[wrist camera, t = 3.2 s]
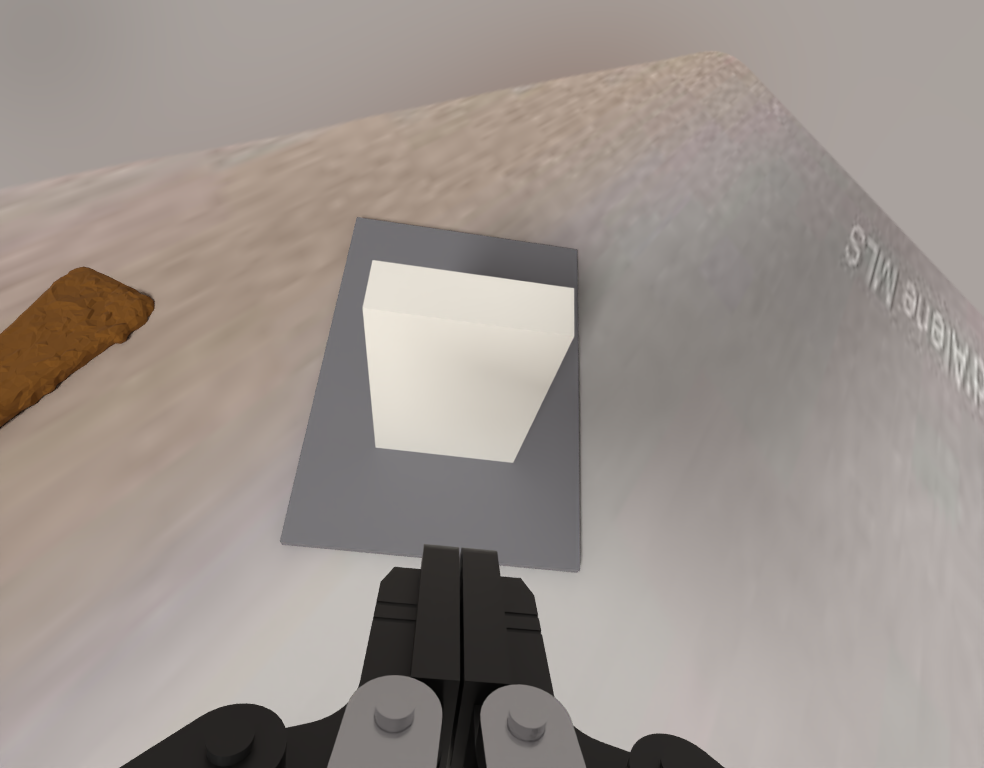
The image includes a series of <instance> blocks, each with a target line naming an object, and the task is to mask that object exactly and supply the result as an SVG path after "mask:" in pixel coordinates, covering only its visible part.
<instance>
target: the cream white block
mask: <svg viewBox="0 0 984 768" xmlns="http://www.w3.org/2000/svg"><path fill="white" fill-rule="evenodd" d="M363 319H364V329H365V340H366V351H367V361H368V372H369V383H370V393H371V404H372V415H373V425H374V436H375V447H376V448H384V449H393V450H402V451H411V452H420V453H429V454H438V455H447V456H456V457H465V458H474V459H483V460H492V461H501V462H510V463H513V462H514V460H515V458H516V456H517V454H518V452H519V450H520V448H521V445H522V443H523V441H524V439H525V437H526V435H527V433H528V431H529V429H530V427H531V425H532V423H533V421H534V419H535V416H536V414H537V412H538V410H539V408H540V406H541V404H542V402H543V400H544V398H545V396H546V394H547V392H548V390H549V387H550V385H551V383H552V381H553V379H554V377H555V375H556V373H557V371H558V369H559V367H560V365H561V363H562V361H563V358H564V356H565V354H566V352H567V350H568V348H569V346H570V344H571V342H572V340H573V338H574V288H568V287H561V286H554V285H547V284H540V283H533V282H526V281H518V280H511V279H504V278H497V277H490V276H483V275H476V274H469V273H461V272H454V271H447V270H440V269H433V268H426V267H419V266H412V265H404V264H397V263H390V262H383V261H376V260H372V265H371V270H370V275H369V279H368V284H367V289H366V294H365V298H364V303H363Z"/></svg>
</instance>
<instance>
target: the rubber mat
mask: <svg viewBox="0 0 984 768" xmlns="http://www.w3.org/2000/svg"><path fill="white" fill-rule="evenodd" d="M372 260H376V261H383V262H390V263H397V264H404V265H412V266H419V267H426V268H433V269H440V270H447V271H454V272H461V273H469V274H476V275H483V276H490V277H497V278H504V279H511V280H518V281H526V282H533V283H540V284H547V285H554V286H561V287H568V288H574V338H573V340H572V342H571V344H570V346H569V348H568V350H567V352H566V354H565V356H564V358H563V361H562V363H561V365H560V367H559V369H558V371H557V373H556V375H555V377H554V379H553V381H552V383H551V385H550V387H549V390H548V392H547V394H546V396H545V398H544V400H543V402H542V404H541V406H540V408H539V410H538V412H537V414H536V416H535V419H534V421H533V423H532V425H531V427H530V429H529V431H528V433H527V435H526V437H525V439H524V441H523V443H522V445H521V448H520V450H519V452H518V454H517V456H516V458H515V460H514V462H513V463H510V462H501V461H492V460H483V459H474V458H465V457H456V456H447V455H438V454H429V453H420V452H411V451H402V450H393V449H384V448H376V447H375V436H374V425H373V415H372V404H371V393H370V383H369V372H368V361H367V351H366V340H365V329H364V319H363V303H364V298H365V294H366V289H367V284H368V279H369V275H370V270H371V265H372ZM280 542H281V544H282V545H292V546H303V547H313V548H324V549H335V550H345V551H356V552H366V553H377V554H387V555H398V556H408V557H419V558H422V555H423V547H424V544H431V545H441V546H452V547H459V558H460V552H461V548H462V547H463V548H474V549H484V550H495V551H497V553H498V561H499V565H503V566H514V567H524V568H535V569H545V570H556V571H566V572H578V571H580V493H579V380H578V266H577V249H571V248H564V247H557V246H550V245H544V244H537V243H530V242H523V241H516V240H509V239H503V238H496V237H489V236H482V235H475V234H469V233H462V232H455V231H448V230H441V229H434V228H428V227H421V226H414V225H407V224H400V223H394V222H387V221H380V220H373V219H366V218H360V217H357V219H356V223H355V227H354V231H353V235H352V240H351V244H350V248H349V252H348V256H347V261H346V265H345V269H344V273H343V278H342V282H341V286H340V290H339V294H338V299H337V303H336V307H335V311H334V316H333V320H332V324H331V328H330V332H329V337H328V341H327V345H326V349H325V353H324V358H323V362H322V366H321V370H320V375H319V379H318V383H317V387H316V391H315V396H314V400H313V404H312V408H311V413H310V417H309V421H308V425H307V429H306V434H305V438H304V442H303V446H302V450H301V455H300V459H299V463H298V467H297V472H296V476H295V480H294V484H293V488H292V493H291V497H290V501H289V505H288V510H287V514H286V518H285V522H284V526H283V531H282V535H281V539H280Z"/></svg>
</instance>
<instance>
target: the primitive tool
mask: <svg viewBox="0 0 984 768" xmlns="http://www.w3.org/2000/svg"><path fill="white" fill-rule="evenodd" d="M153 310H154V301H153V300H152V299H151V298H150V297H148V296H146V295H143V294H140V293H139V292H138V291H137V290H135V289H133V288H131V287H129V286H126V285H124V284H122V283H121V282H119V281H116V280H114V279H112V278H110V277H108V276H106V275H104V274H102V273H99V272H97V271H95V270H93V269H90V268H87V267H80V268H76V269H74V270H72V271H70V272H69V273H68V274H67V275H65V276H63V277H61V278H59V279H58V280H57V281H55V282H54V283H53V284H52V285H51V287H50V288H49V289H48V290H47V291H45V292H44V293H43V294H42V295H41V296H40V297H39V298H38V299H37V300H36V301H35V302H34V303H33V304H32V305H31V306H30V307H29V308H28V309H27V310H26V311H24V312H23V313H22V314H21V315H20V316H19V317H18V318H17V319H16V320H15V321H14V322H13V323H12V324H11V325H10V326H9V327H8V328H7V329H5V330H4V331H3V332H2V333H1V334H0V427H1V426H2V425H3V424H5V423H6V422H7V421H9V420H10V419H12V418H13V417H14V416H16V415H17V414H18V413H19V412H21V411H22V410H24V409H26V408H28V407H29V406H32V405H34V404H36V403H37V402H38V401H39V400H40V399H41V398H42V396H44V395H46V394H49V393H51V392H52V391H53V390H54V389H55V388H56V386H57V385H58V384H59V383H60V382H62V381H64V380H66V378H67V377H68V376H69V375H70V374H72V373H74V372H75V371H77V370H78V369H80V368H81V367H83V366H85V365H86V364H87V363H88V362H89V361H90V360H92V359H93V358H95V357H96V356H98V355H99V354H101V353H102V352H104V351H105V350H106V349H107V348H109V347H110V346H112V345H114V344H115V343H119V344H121V343H123V342H125V341H126V340H127V337H128V335H129V334H130V333H131V332H133V331H134V330H137V329H139V328H140V327H141V326H143V325H144V324H145V323H146V322H147V318H148V317H149V316H150V315H151V313H152V312H153Z"/></svg>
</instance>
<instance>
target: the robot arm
mask: <svg viewBox="0 0 984 768" xmlns="http://www.w3.org/2000/svg"><path fill="white" fill-rule="evenodd" d="M120 768H724V767H723V766H722V765H720V764H719V763H718V762H717V761H716V760H714V759H713V758H712V757H711V756H709V755H708V754H707V753H706V752H704V751H703V750H702V749H700V748H699V747H698V746H696V745H694V744H693V743H691V742H689V741H687V740H685V739H682V738H680V737H677V736H674V735H669V734H651V735H647V736H644V737H642V738H641V739H639V740H638V741H637V742H636V743H635V744H634V746H633V748H632V750H631V752H628V751H625V750H622V749H619V748H617V747H614V746H611V745H608V744H605V743H603V742H600V741H598V740H595V739H593V738H591V737H589V736H587V735H586V734H584V733H582V732H581V731H580V730H578V729H577V728H576V727H574V726H573V723H572V720H571V718H570V716H569V714H568V712H567V710H566V709H565V707H564V706H563V705H562V704H561V703H560V702H559V701H558V700H557V699H556V698H555V697H554V693H553V688H552V683H551V678H550V673H549V668H548V663H547V658H546V653H545V648H544V643H543V638H542V634H541V628H540V623H539V618H538V613H537V608H536V602H535V597H534V595H533V593H532V592H531V591H530V590H529V588H528V587H527V586H526V584H525V583H524V582H523V581H522V579H521V578H512V577H501V576H500V569H499V561H498V553H497V551H495V550H484V549H474V548H463V547H462V548H461V552H460V558H459V547H452V546H441V545H431V544H424V547H423V555H422V563H421V569H413V568H402V567H394V568H393V569H392V570H391V571H390V572H389V574H388V575H387V576H386V577H385V578H384V579H383V580H382V581H381V583H380V588H379V593H378V597H377V603H376V607H375V612H374V617H373V622H372V626H371V631H370V636H369V641H368V646H367V651H366V655H365V660H364V665H363V670H362V675H361V680H360V683H359V687H358V689H357V690H356V691H355V692H354V694H353V695H352V697H351V698H350V700H349V702H348V703H347V704H346V705H345V706H344V707H343V708H341V709H340V710H339V711H337V712H336V713H334V714H332V715H330V716H328V717H326V718H324V719H321V720H318V721H315V722H311V723H307V724H302V725H297V726H293V727H288V728H285V726H284V724H283V722H282V720H281V719H280V718H279V717H278V715H277V714H275V713H274V712H273V711H271V710H270V709H267V708H265V707H263V706H259V705H256V704H233V705H227V706H224V707H220V708H217V709H215V710H212V711H210V712H208V713H206V714H204V715H203V716H201V717H199V718H198V719H196V720H194V721H193V722H191V723H190V724H188V725H186V726H185V727H183V728H182V729H180V730H178V731H177V732H175V733H174V734H172V735H171V736H169V737H167V738H166V739H164V740H163V741H161V742H159V743H158V744H156V745H155V746H153V747H152V748H150V749H148V750H147V751H145V752H144V753H142V754H140V755H139V756H137V757H136V758H134V759H132V760H131V761H129V762H128V763H126V764H125V765H123V766H121V767H120Z"/></svg>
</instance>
